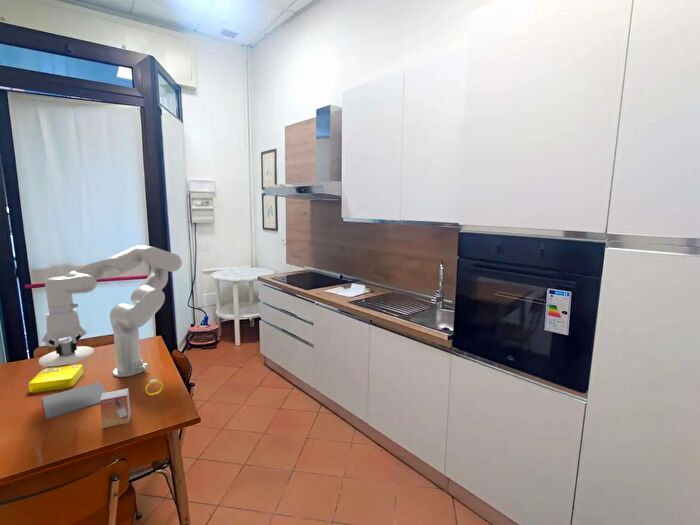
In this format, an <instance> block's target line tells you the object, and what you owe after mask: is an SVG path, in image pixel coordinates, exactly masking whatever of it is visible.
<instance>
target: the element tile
mask: <svg viewBox="0 0 700 525" xmlns="http://www.w3.org/2000/svg"><path fill="white" fill-rule="evenodd" d="M83 375H84V366H83V364H81V363H80V364H73V365H71V364H70V365H62V366H54V367H47V368H44V369H42V370H40V371H39V372H38V373H37V374H36V375H35V376H34V377H33V378H32V379H31V380H30V381H28V388H29V389H28V390H29V393H33V394H34V393H41V392H48V391H55V390H61V389H69V388H71V387H74V386H75V385H76V383H78V381H79V380H80V378H81V377H82V376H83Z"/></svg>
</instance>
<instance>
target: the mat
mask: <svg viewBox="0 0 700 525" xmlns="http://www.w3.org/2000/svg"><path fill="white" fill-rule="evenodd" d="M106 392H107V391H106V389H105V387H104V385H103V383H102V382H101V381H97V382H94V383H90V384H87V385H82V386H79V387H76V388H72V389H68V390H65V391H61V392H57V393H53V394H50V395H46V396H42V397H41V400H42V405H43V410H44V416H45V420H46V421H48V420H51V419H53V418H56V417H57V418H58V417H60V416H62V415H65V414H69V413H72V412H75V411H79V410H82V409H85V408H90V407H93V406H95V405H100V399H101V395H102V393H106Z"/></svg>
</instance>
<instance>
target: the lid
mask: <svg viewBox="0 0 700 525" xmlns="http://www.w3.org/2000/svg"><path fill="white" fill-rule="evenodd" d="M76 347H77V350H75V353H73V352H72V340H70V341H65V342H62V343H60V348H61V356H59V354H56V351H54V352H51V353H48V352H47V354H45V355H42V356H41V357H40V358H39V359H38V364H39V365H40V366H43V367H62V366H68V365H71V364H74V363H78V362H81V361H83V360H86V359H88V358H90V357H91V356H92V355H93V354H95V353H94V352H95V349H94V347H91V346H87V345H86V346H83V345H82V346H76Z"/></svg>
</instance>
